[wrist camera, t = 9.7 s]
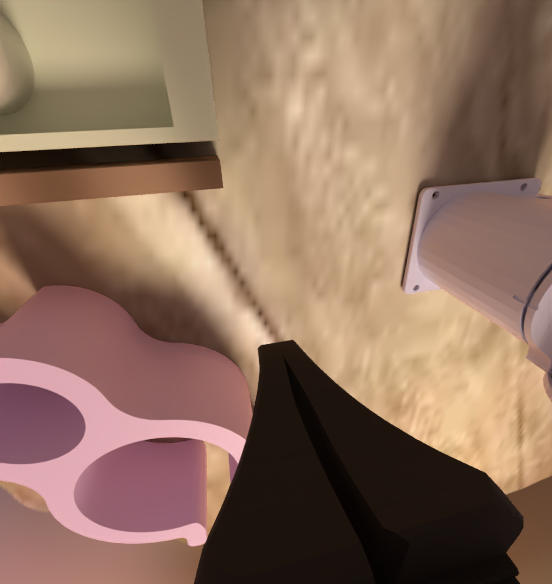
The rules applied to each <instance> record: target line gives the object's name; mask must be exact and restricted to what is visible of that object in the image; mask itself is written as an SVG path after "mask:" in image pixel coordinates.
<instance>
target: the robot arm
mask: <svg viewBox="0 0 552 584" xmlns="http://www.w3.org/2000/svg"><path fill="white" fill-rule="evenodd" d="M540 187H541V179H539V178H525V179H514V180H503V181H492V182H481V183H470V184H459V185H448V186H437V187H427V188H424V189H423V190H422V191H421V192H420V195H419V199H418V204H417V210H416V215H415V221H414V226H413V232H412V237H411V242H410V248H409V253H408V259H407V264H406V270H405V275H404V281H403V286H402V290H403V292H405V293H406V294H413V293H419V292H426V291H432V290H439V289H443V290H445V291H446V292H448V293H449V294H451V295H452V296H454V297H455V298H457V299H458V300H460V301H461V302H463V303H465V304H466V305H468V306H469V307H471V308H472V309H474V310H475V311H477V312H478V313H480V314H481V315H483V316H484V317H486V318H488V319H489V320H491V321H492V322H494V323H495V324H497V325H498V326H500V327H501V328H503V329H504V330H506V331H508V332H509V333H511V334H512V335H514V336H515V337H517V338H518V339H520V340H521V341H523V342H524V343H526V344H527V345H529V349H528V353H527V356H526V358H527V359H528V360H530V361H531V362H532V363H534V364H535V365H537V366H538V367H540V368H541V369H542V370H544V371H545V375H544V378H543V382H544V388H545V391H546V393H547V395H548V397H549V398H550V400H551V401H552V196H549V195H543V194H538V192H539V189H540ZM434 192H435V196H434V197H433V198H432V195H433V193H434ZM415 285H416V287H415V288H414V286H415ZM258 355H259V366H260V372H259V382H258V390H257V396H256V401H255V406H254V411H253V416H252V420H251V424H250V428H249V431H248V435H247V438H246V442H245V445H244V448H243V451H242V454H241V457H240V460H239V463H238V466H237V469H236V472H235V474H234V477H233V479H232V482H231V484H230V487H229V489H228V492H227V495H226V497H225V500H224V502H223V504H222V507H221V509H220V511H219V514H218V516H217V518H216V520H215V522H214V524H213V527H212V529H211V531H210V533H209V535H208V538H207V540H206V542H205V544H204V546H203V549H202V554H201V558H200V561H199V565H198V569H197V573H196V578H195V582H194V584H520V583H519V581H518V580H517V579H516V578H515V576H517V575H518V574H519V572H518V569H517V567H516V566H515V564H514V563H513V562H512V560H511V559H510V557H509V556H508V555H507V553H506V552H507V551H508V549H509V548H510V546H511V545H512V544H513V542H514V541H515V540H516V538H517V537H518V536H519V534H520V532H521V531H522V529H523V516H522V515H521V513H520V512H519V511H518V510H517V509H516V508H515V506H514V505H513V504H512V502H511V501H510V500H509V499H508V497H507V496H506V495H505V494H504V493H503V491H502V490H501V489H500V488H499V487H498V486H497V485H496V484H495V483H494V481H493V480H492V479H491V478H490V477H489V476H488V475H487V474H486V473H485V472H482V471H480V470H478V469H476V468H474V467H472V466H470V465H467V464H465V463H463V462H461V461H459V460H457V459H455V458H452V457H450V456H448V455H446V454H444V453H442V452H440V451H438V450H436V449H434V448H432V447H430V446H429V445H427V444H425V443H423V442H421V441H419V440H417V439H415V438H414V437H412V436H410V435H409V434H407V433H405V432H404V431H402V430H400V429H399V428H397V427H395V426H394V425H392V424H390V423H389V422H387V421H385V420H384V419H383V418H381V417H380V416H378V415H377V414H375V413H374V412H372V411H371V410H369V409H368V408H367V407H365V406H364V405H363V404H361V403H360V402H358V401H357V400H356V399H355V398H353V397H352V396H351V395H350V394H348V393H347V392H346V391H345V390H344V389H342V388H341V387H340V386H339V385H338V384H336V383H335V382H334V381H333V380H332V379H331V378H330V377H329V376H328V375H327V374H326V373H325V372H323V371H322V370H321V369H320V368H319V367H318V366H317V365H316V364H315V363H314V362H313V361H312V360H311V359H310V358H309V357H308V356H307V354H306V353H305V352H304V351H303V350H302V349H301V348H300V347H299V346H298V344H297V343H296V342H295V341H293V340H289V341H283V342H277V343H271V344H266V345H261V346H260V347H259V348H258Z"/></svg>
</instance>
